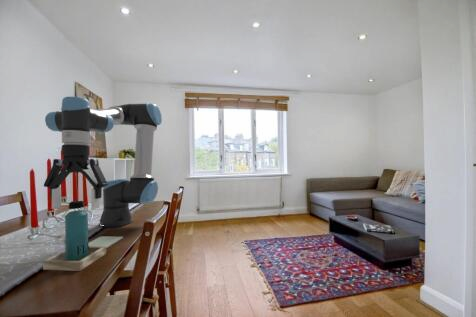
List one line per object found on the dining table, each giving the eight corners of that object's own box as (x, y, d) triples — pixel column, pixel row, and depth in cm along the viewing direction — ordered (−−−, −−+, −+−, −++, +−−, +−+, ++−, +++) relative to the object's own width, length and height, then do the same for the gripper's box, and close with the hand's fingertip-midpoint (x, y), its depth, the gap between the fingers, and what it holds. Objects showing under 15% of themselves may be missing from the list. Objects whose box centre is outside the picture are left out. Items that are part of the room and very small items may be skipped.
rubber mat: (100, 237, 95) (100, 236, 95) (123, 237, 94) (123, 236, 94) (81, 247, 84) (81, 246, 84) (106, 248, 83) (106, 247, 83)
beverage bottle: (76, 266, 69) (75, 203, 69) (59, 264, 70) (58, 202, 70) (93, 257, 76) (93, 199, 75) (77, 255, 77) (77, 199, 77)
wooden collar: (74, 252, 79) (74, 245, 79) (106, 253, 79) (106, 246, 79) (43, 269, 67) (43, 261, 67) (80, 270, 67) (80, 262, 67)
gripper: (29, 144, 70) (29, 210, 70) (104, 143, 68) (104, 211, 68) (50, 145, 77) (50, 205, 77) (118, 144, 76) (118, 206, 76)
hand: (75, 208), depth 73 cm, fingers open, 13 cm apart
